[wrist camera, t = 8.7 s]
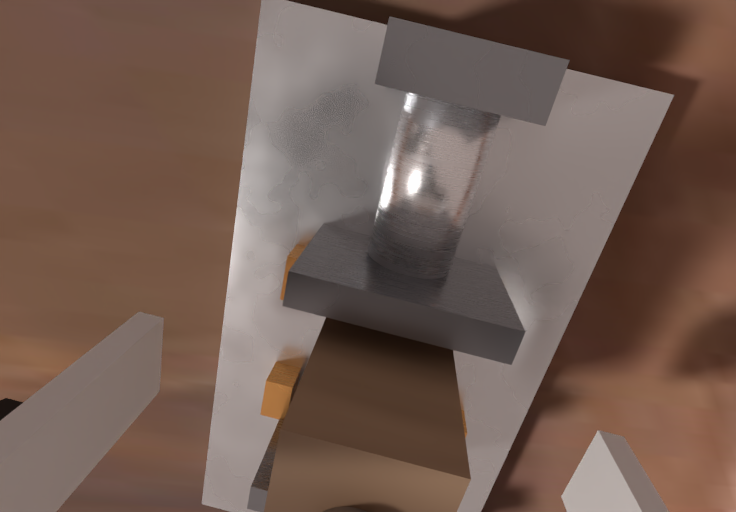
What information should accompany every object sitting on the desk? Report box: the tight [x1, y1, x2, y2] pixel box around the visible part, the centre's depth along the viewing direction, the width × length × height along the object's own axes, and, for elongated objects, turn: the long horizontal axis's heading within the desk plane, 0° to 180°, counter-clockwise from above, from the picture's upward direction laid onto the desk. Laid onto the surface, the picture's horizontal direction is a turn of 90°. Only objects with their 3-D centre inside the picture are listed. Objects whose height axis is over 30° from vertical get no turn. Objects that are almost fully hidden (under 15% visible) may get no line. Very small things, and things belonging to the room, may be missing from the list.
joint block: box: [264, 317, 471, 512], centre depth 13 cm, size 5×4×8 cm
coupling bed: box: [202, 0, 674, 512], centre depth 15 cm, size 21×12×5 cm, turn 167°
